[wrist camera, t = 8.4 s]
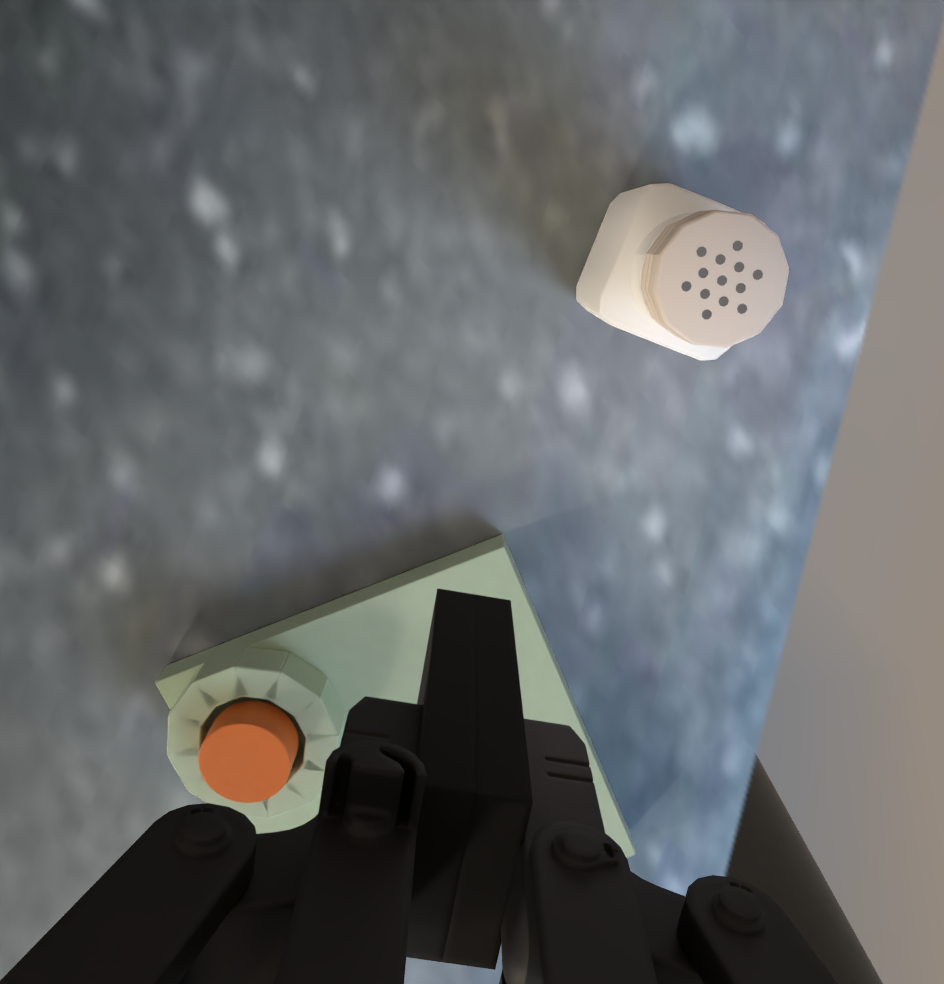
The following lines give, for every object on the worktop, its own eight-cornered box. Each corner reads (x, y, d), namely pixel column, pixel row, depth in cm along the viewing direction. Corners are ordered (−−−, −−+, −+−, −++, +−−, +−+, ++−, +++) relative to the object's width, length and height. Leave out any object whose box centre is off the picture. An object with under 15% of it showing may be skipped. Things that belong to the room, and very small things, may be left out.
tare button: (313, 760, 32) (305, 785, 31) (235, 789, 32) (223, 815, 31) (275, 687, 31) (265, 710, 30) (194, 718, 32) (181, 741, 30)
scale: (630, 832, 36) (643, 883, 33) (320, 939, 37) (307, 997, 35) (502, 532, 32) (505, 560, 30) (164, 664, 34) (136, 704, 31)
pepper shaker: (673, 343, 30) (761, 389, 21) (567, 301, 30) (610, 329, 21) (723, 231, 29) (837, 229, 20) (614, 186, 29) (680, 163, 20)
